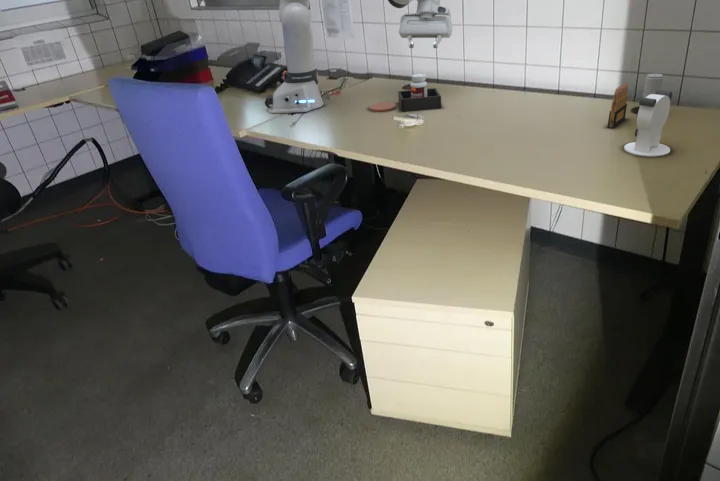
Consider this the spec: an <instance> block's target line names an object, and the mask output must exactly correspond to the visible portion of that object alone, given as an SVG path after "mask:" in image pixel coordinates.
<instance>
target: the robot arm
mask: <svg viewBox="0 0 720 481" xmlns="http://www.w3.org/2000/svg"><path fill="white" fill-rule="evenodd" d="M416 1H417V6H416V11H415V12H416V13H405V14H403V15H402V16H400V25H399V30H398V34H399V36H400V38H402V39H407V41H408V48H409V49H414V48H415V47H414V46H415V43H414V41H412V40H413V39H437V40H436V41H433V45H432V47H433V49H438V48H439V44H440V43H441V42H442V40H443V39H449V38H451V37H452V36H453V24H452V15H451V11H450V9H449V7H446V6H442V5H441V0H416ZM387 2H388V3H389V4H390V5H391V6H392V7H394V8H396V9H403V8H405V7H406V6H408V5H409V4H410V3H411V2H413V0H387ZM278 7H279V11H278V17H279V21H280V23H281V29H282V38H283V47H284V55H285V56H284V57H285V62H286V69H287V70H283V72H282V79H283V82H282V83H281V84H280V85H279V86H278V87H277V89H275V90H274V92H273V94H267V95H266V98H265V100H264V105H265V106H266V108H267V112H268V113H270V114H289V113H290V114H291V113H307V112H310V111H313V110H315V109H320V108H321V107H323V106H324V105H325V103H324V101H323V100H324V99H323V98H322V95H321V91H320V86H319V73H318V69H317V68H316V67H317V66H316V61H315V60H316V59H315V51H314V36H313V35H314V34H313V33H314V32H313V22H312V14H311V11H310V9H309V8H310V0H279V6H278Z"/></svg>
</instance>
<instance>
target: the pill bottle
mask: <svg viewBox="0 0 720 481" xmlns="http://www.w3.org/2000/svg"><path fill="white" fill-rule="evenodd" d="M426 80H427V78H426V74H425V73H415V74H412V75H411V81H412V82H411V83H410V90H411V98H419V97H427V89H428V83H427V81H426Z"/></svg>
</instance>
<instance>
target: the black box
mask: <svg viewBox="0 0 720 481" xmlns="http://www.w3.org/2000/svg"><path fill="white" fill-rule="evenodd" d="M397 95H398V96H397V97H398V98H397V99H398V105H399V108H400V111H401V112H413V111H424V110H436V109H441V108H442V95H441V93H440V92H439V91H438V89H437V88H436V87H432V88H427V97H419V98H411V89H410V90H399V91H397Z"/></svg>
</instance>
